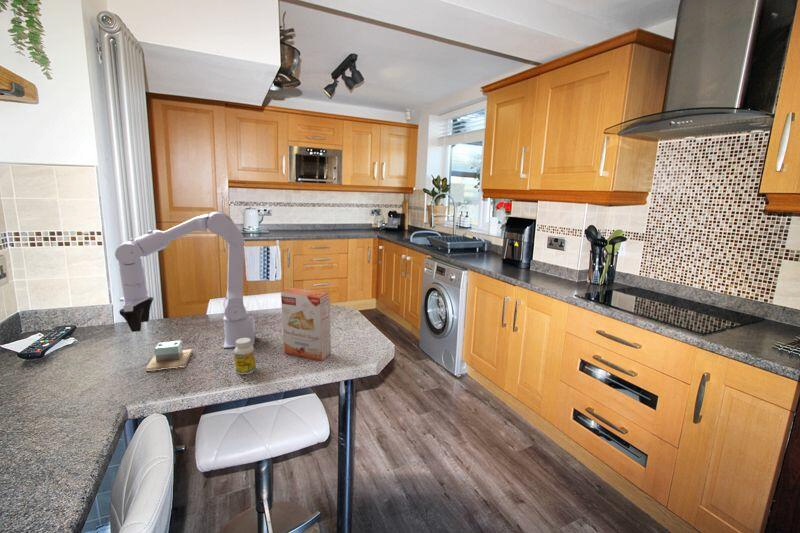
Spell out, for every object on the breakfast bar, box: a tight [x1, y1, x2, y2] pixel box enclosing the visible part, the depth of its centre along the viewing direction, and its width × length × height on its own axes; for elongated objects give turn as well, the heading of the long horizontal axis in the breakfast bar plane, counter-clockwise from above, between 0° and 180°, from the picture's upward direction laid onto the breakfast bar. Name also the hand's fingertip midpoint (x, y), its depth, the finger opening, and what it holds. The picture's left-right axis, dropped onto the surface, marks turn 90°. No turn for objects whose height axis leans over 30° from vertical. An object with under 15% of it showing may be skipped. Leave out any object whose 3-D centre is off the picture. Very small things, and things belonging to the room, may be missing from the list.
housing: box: [154, 340, 183, 362], centre depth 114 cm, size 6×4×4 cm
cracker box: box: [280, 287, 332, 362], centre depth 119 cm, size 14×6×21 cm, turn 70°
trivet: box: [145, 348, 193, 372], centre depth 114 cm, size 10×10×1 cm
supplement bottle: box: [233, 338, 257, 375], centre depth 109 cm, size 5×5×10 cm
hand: (140, 326), depth 114 cm, fingers open, 7 cm apart
